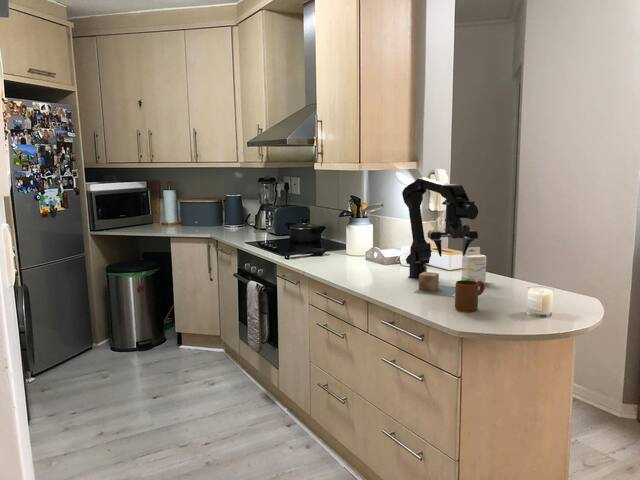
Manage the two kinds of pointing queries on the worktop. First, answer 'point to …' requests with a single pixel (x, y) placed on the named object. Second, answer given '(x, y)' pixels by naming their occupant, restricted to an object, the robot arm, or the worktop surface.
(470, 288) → the mug
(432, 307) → the worktop surface
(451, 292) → the mat
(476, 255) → the ink box
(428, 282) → the walnut cube
